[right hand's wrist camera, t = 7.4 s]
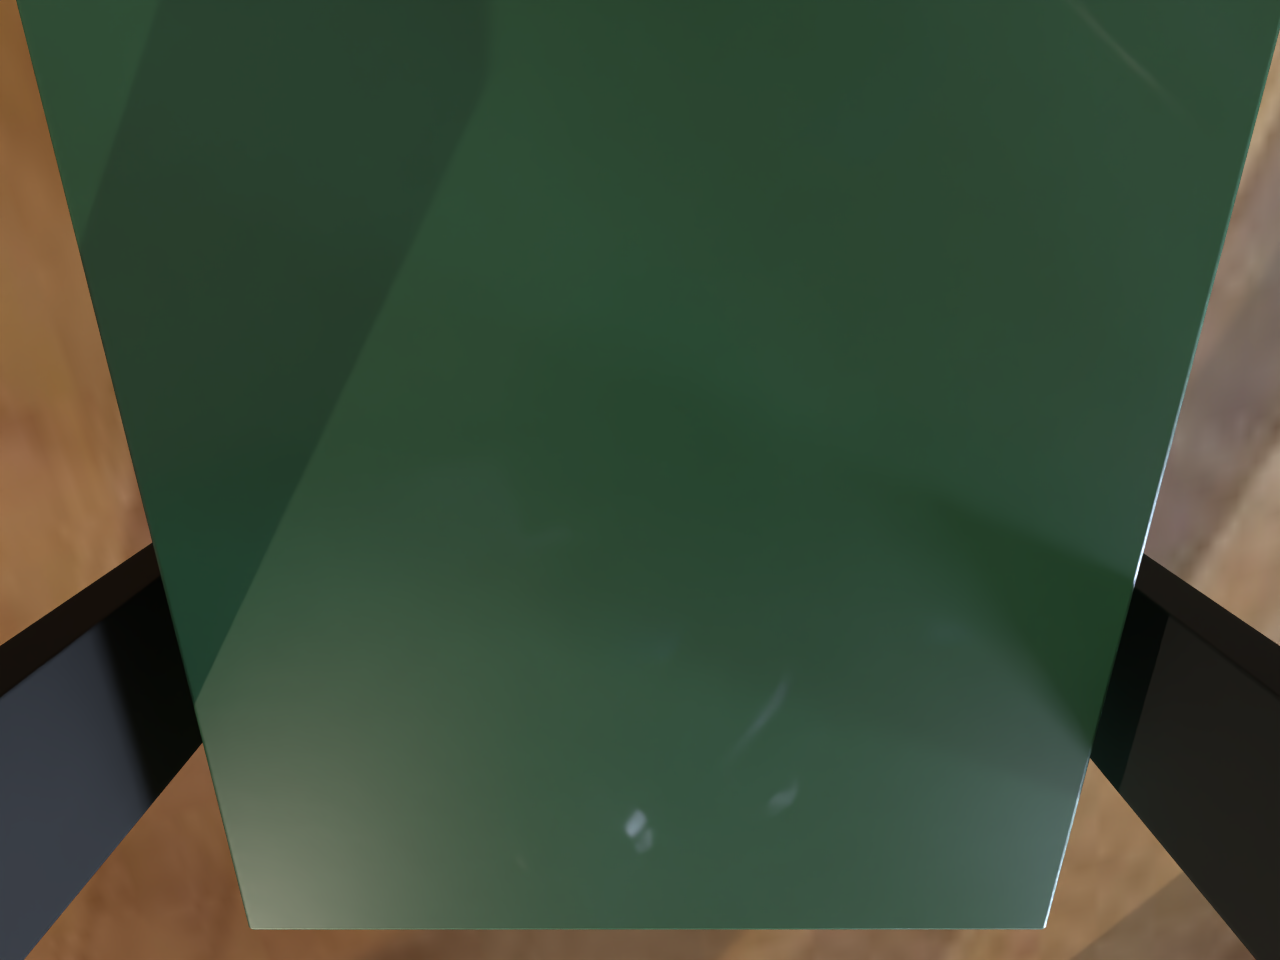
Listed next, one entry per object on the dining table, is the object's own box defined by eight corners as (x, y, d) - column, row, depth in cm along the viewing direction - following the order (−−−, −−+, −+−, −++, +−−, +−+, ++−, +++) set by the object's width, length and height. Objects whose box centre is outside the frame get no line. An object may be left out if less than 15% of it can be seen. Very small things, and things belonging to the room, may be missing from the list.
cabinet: (383, -179, 15) (-296, -1221, 4) (905, -179, 15) (1612, -1223, 4) (454, 553, 21) (248, 931, 10) (832, 553, 21) (1047, 931, 10)
